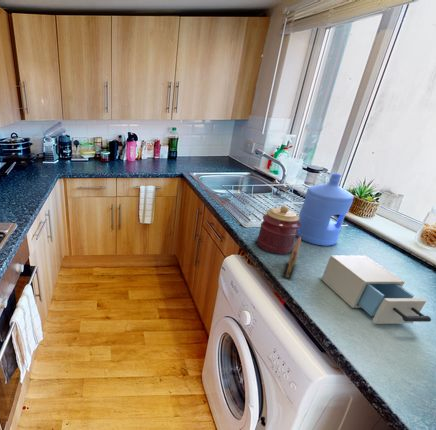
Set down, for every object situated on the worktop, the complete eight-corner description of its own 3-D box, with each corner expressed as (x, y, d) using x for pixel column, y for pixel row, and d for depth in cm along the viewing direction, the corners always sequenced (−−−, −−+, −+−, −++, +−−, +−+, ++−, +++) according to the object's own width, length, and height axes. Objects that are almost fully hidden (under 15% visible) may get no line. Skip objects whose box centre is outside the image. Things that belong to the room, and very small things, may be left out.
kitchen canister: (298, 248, 115) (311, 208, 107) (281, 258, 108) (294, 216, 100) (266, 235, 124) (277, 197, 117) (249, 243, 118) (259, 204, 110)
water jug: (291, 239, 122) (312, 175, 110) (295, 225, 134) (314, 167, 122) (336, 250, 114) (363, 183, 102) (336, 235, 126) (360, 173, 114)
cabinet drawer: (429, 336, 74) (444, 313, 71) (390, 336, 74) (403, 313, 70) (373, 293, 89) (384, 272, 86) (341, 293, 89) (350, 272, 86)
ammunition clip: (288, 263, 105) (297, 234, 100) (294, 264, 104) (303, 236, 99) (283, 277, 97) (293, 246, 92) (289, 279, 96) (300, 248, 91)
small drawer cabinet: (390, 307, 85) (405, 281, 81) (352, 307, 84) (365, 281, 80) (354, 279, 97) (365, 255, 93) (321, 279, 97) (330, 255, 93)
